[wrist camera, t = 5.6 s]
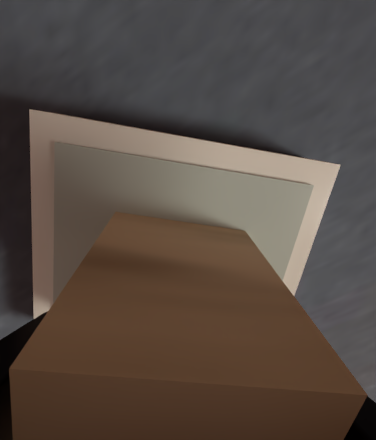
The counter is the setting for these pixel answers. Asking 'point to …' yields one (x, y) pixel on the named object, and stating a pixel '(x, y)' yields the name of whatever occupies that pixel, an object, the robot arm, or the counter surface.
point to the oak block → (179, 346)
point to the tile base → (163, 193)
